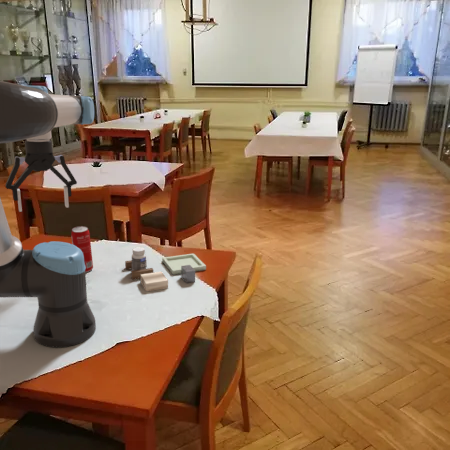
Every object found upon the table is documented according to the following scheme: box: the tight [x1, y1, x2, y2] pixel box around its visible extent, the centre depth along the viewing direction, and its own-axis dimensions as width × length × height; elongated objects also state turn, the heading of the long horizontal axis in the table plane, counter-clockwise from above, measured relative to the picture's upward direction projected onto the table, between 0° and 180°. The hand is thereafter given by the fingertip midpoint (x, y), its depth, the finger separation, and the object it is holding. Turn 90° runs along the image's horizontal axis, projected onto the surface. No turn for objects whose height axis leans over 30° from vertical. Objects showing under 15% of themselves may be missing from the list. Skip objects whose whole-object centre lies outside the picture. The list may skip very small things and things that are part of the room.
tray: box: [161, 253, 207, 276], centre depth 160 cm, size 12×12×2 cm
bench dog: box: [180, 265, 196, 284], centre depth 149 cm, size 5×3×4 cm, turn 25°
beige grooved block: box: [140, 271, 169, 292], centre depth 144 cm, size 7×7×3 cm
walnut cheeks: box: [124, 259, 154, 281], centre depth 153 cm, size 10×7×2 cm
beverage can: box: [70, 225, 94, 273], centre depth 151 cm, size 6×6×15 cm
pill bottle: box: [131, 246, 147, 271], centre depth 152 cm, size 5×5×8 cm
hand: (44, 208), depth 141 cm, fingers open, 13 cm apart
